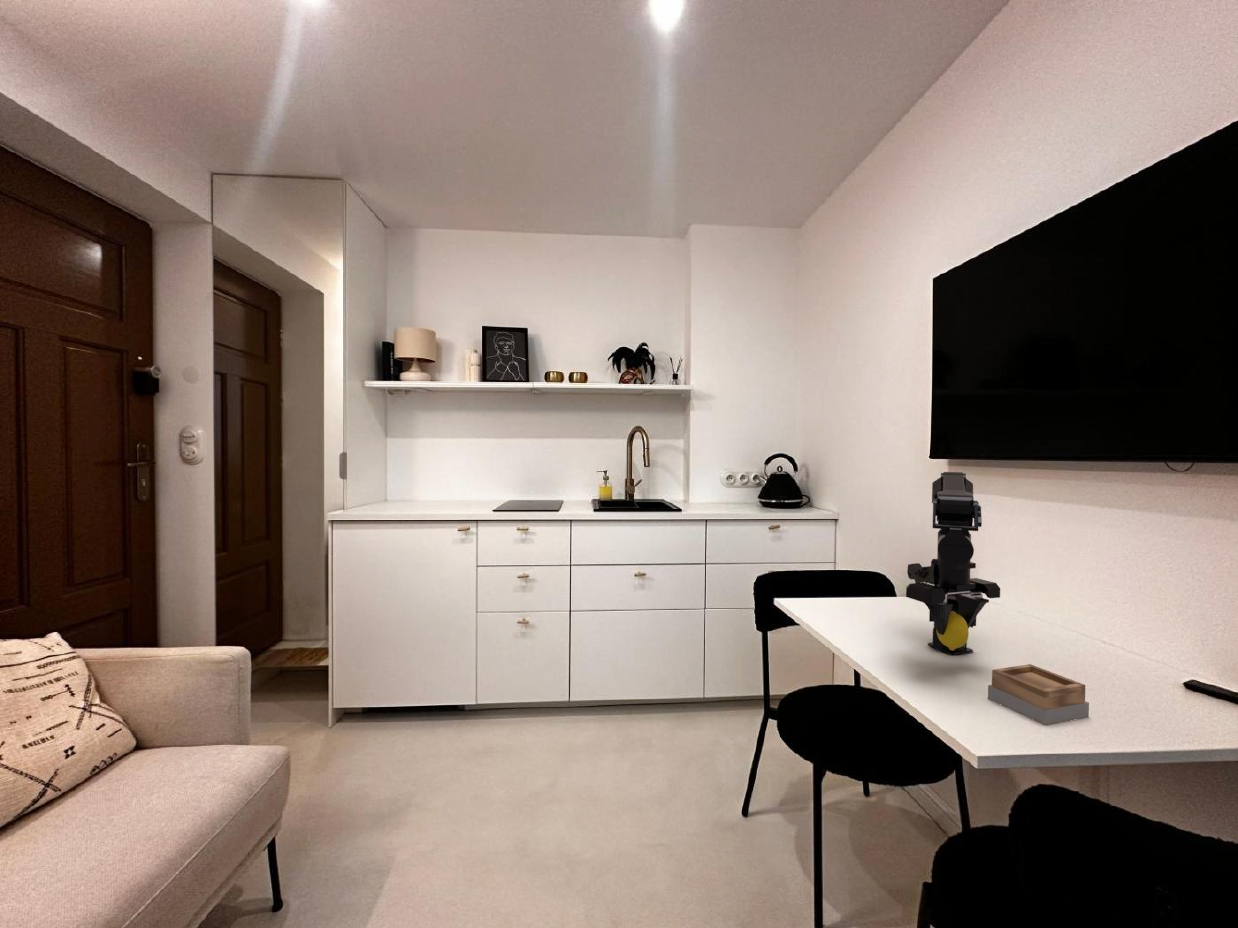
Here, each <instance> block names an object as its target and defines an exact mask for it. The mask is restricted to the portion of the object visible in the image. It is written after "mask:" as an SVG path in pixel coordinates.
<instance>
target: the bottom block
mask: <svg viewBox="0 0 1238 928" xmlns="http://www.w3.org/2000/svg"><path fill="white" fill-rule="evenodd" d="M987 700H989V701H992V702H994V703H996V704H998V705H1000V704H1001V705H1000V706H1002V707H1004V708H1007V709H1008V710H1011V711H1013V712H1016V713H1017V714H1020V715H1022V716H1024V717H1026V718H1028V719H1029V720H1032V719H1033V721H1034V720H1035V722H1037V723H1039V724H1041V725H1043V726H1051V725H1057V724H1062V723H1067V722H1071V721H1070V720H1073V721H1075V720H1074V719H1078V720H1083V719H1087V718H1090V715H1089V714H1090V702H1088V701H1086V700H1085V703H1080V704H1075V705H1069V706H1064V707H1059V708H1053V709H1048V710H1044V709H1042V708H1039V707H1037V706H1035V705H1033V704H1030V703H1028V702H1026V701H1024V700H1021V699H1019V698H1017V697H1015V696H1012V695H1010V694H1008V693H1006V692H1003V691H1001V690H999V689H997V688H994V687H992V684H988V685H987ZM1066 721H1067V722H1066ZM1061 722H1062V723H1061Z"/></svg>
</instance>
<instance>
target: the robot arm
mask: <svg viewBox="0 0 1238 928" xmlns="http://www.w3.org/2000/svg"><path fill="white" fill-rule="evenodd" d="M931 485H932V487H931V504H932V529H939V531H938V532H937V554H936V555H937V557H936V558H932V559H931V561H930V565H929V566H922V565H921V563H909V564H907V569H906V570H907V572H906V573H907V577H908V579H910V580H914V582H913V583H909V584H908V585H907V586H906V588H905V598H909V599H912V600H914V601H917V602H920V603H923V604H924V605H925V606H926V607H927V609H928V611H929V612H928V613H929V614H928V615H929V617H928V621H929V622H931V623H933V628H932V641H931V642H928V643H927V646H929V647H931V648H934V649H936V650H938V651H941V652H943V653H945V654H947V655H950V656H955V655H961V654H969V653H973V652H974V649H972V648H969V647H968V646H967V645H968V641H967V642H966V643H965V644H964V645H963V646H962V647H960V648H956V649H955V650H950V649H949V648H948V647H947V646H945V645H944V644H943V643H942V642H941V641H940V640H939V638H938V635H937V632H938V633H939V634H941V635H944V633H945V630H946V627H947V624H948V620H949V616H950V613H951V611H954V612H955V613H957V614H959V615H960V616H962V617H963V618H964V619H965V621H966V623H967V626H968V630H969V628H974V627H977V616H978V615H979V614H980V612H981V610H982V609H983V608H984V607H985V605H986V604H987V603H988V604H989V602H990V599H997V598H998V599H999V598H1001V587H1000V586H999V585H998V584H997V582H993V581H991V580H990V581H989V580H985V579H981V578H977V577H973V578H971V569H976V567H977V564H976V563H975V562H972V561H971V559H972V558H973V556H974V551H975V549H974V545H973V543H972V534H971V533H970V532H979V528H982V524H983V520H982V506H981V505H980V503H979V501H978V500H975V497H974V483H973V482H971V481H970V480H969V479H967V474H966V473H965V472H962V471H944V472H940V477H939V478H937V479H936V480H934V481H932V484H931ZM984 595H985V596H986V597H987V598H985V597H984ZM936 629H937V630H936Z"/></svg>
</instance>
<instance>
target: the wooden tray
mask: <svg viewBox="0 0 1238 928" xmlns="http://www.w3.org/2000/svg"><path fill="white" fill-rule="evenodd" d="M991 685H992V687H994V688H997V689H999V690H1001V691H1003V692H1006V693H1008V694H1010V695H1012V696H1015V697H1017V698H1019V699H1021V700H1024V701H1026V702H1028V703H1030V704H1033V705H1035V706H1037V707H1039V708H1042V709H1044V710H1048V709H1053V708H1059V707H1064V706H1069V705H1075V704H1080V703H1085V701H1086V684H1084V683H1081V682H1078V681H1075V680H1073V679H1070V678H1068V677H1065V676H1063V675H1061V674H1057V673H1055V672H1052V671H1050V670H1046V669H1044V668H1041V667H1039V666H1036V665H1034V664H1031V663H1029V664H1023V665H1016V666H1015V665H1014V666H1009V667H1002V668H995V669H992V670H991Z"/></svg>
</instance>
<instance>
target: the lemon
mask: <svg viewBox="0 0 1238 928" xmlns="http://www.w3.org/2000/svg"><path fill="white" fill-rule="evenodd" d="M936 630H937V629H936ZM937 635H938V638H939V640H940V641H941V642H942V643H943V644H944V645H945V646H947V647H948V648H949V649H950V650H955V649H956V648H960V647H962V646H963V645H964V644H965V643H966V642H967V643H968V639H969V629H968V626H967V623H966V621H965V619H964V618H963V617H962V616H960V615H959V614H957V613H955V612H954V611H951V613H950V616H949V620H948V624H947V627H946V630H945V633H944V635H941V634H939V633H938V632H937Z"/></svg>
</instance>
